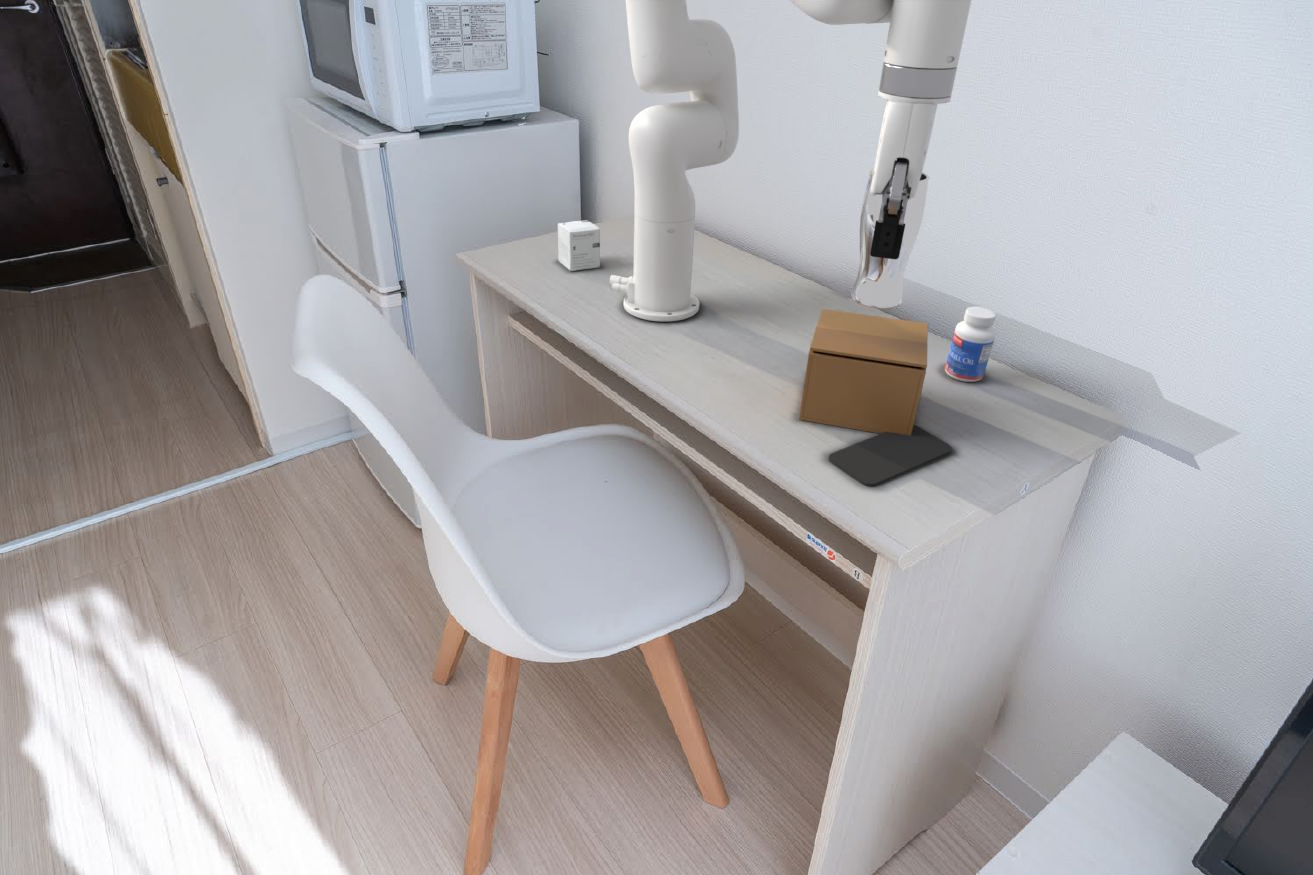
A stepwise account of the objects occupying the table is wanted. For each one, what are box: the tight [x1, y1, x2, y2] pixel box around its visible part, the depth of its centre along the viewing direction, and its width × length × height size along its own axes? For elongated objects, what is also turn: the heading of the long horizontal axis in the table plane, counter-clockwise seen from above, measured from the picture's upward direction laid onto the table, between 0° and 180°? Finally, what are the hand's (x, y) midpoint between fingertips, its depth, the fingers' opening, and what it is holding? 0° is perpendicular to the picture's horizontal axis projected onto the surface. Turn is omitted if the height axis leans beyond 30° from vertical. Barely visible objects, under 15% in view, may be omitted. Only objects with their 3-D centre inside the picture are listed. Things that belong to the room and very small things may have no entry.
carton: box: [798, 326, 928, 436], centre depth 105 cm, size 13×14×10 cm
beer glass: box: [850, 167, 930, 310], centre depth 94 cm, size 7×7×15 cm
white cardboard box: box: [557, 219, 601, 272], centre depth 147 cm, size 6×6×7 cm
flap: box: [816, 308, 929, 344], centre depth 105 cm, size 6×14×1 cm, turn 73°
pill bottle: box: [944, 306, 997, 383], centre depth 113 cm, size 6×5×10 cm
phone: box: [828, 424, 953, 488], centre depth 97 cm, size 7×1×15 cm
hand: (886, 245), depth 94 cm, fingers closed on beer glass, 7 cm apart
